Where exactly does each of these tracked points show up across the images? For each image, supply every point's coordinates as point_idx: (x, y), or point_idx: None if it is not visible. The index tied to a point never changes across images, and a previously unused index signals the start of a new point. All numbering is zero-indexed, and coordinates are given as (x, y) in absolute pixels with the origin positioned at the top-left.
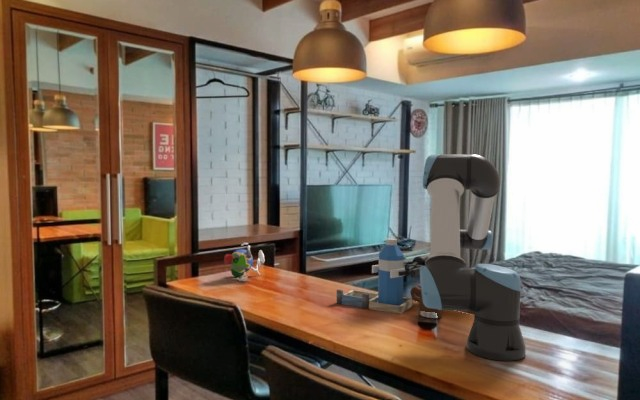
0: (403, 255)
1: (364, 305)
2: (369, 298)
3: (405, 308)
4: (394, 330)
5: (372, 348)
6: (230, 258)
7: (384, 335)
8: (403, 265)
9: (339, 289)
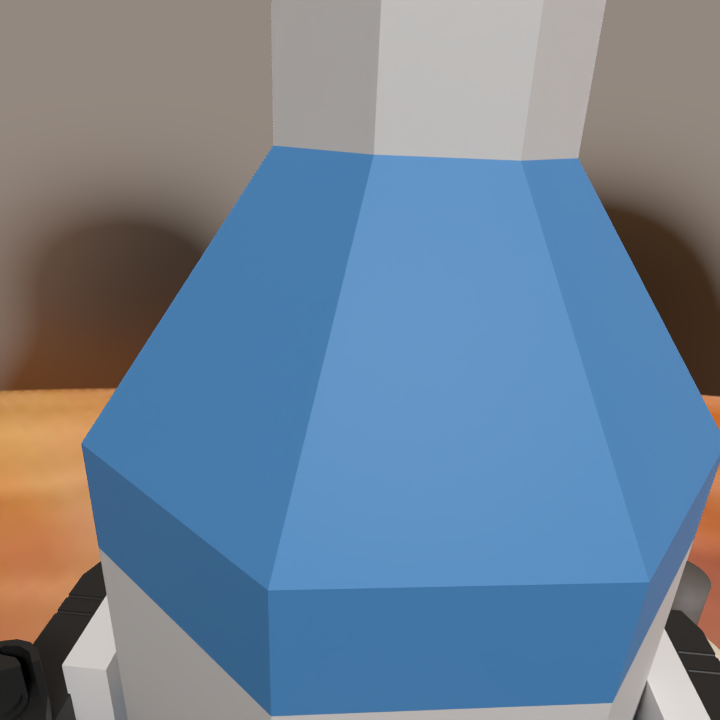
0: (86, 441)
1: None
2: None
3: None
4: (35, 542)
5: (57, 408)
6: None
7: (61, 483)
8: (118, 655)
9: (707, 584)
